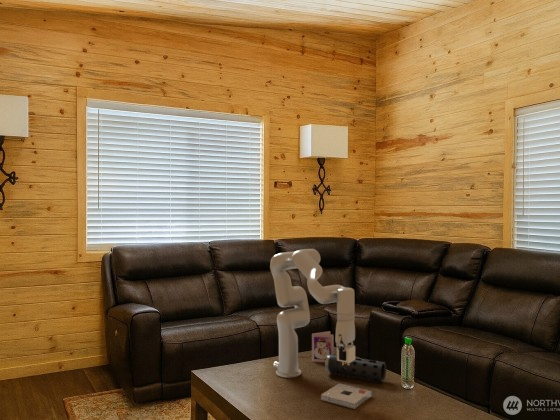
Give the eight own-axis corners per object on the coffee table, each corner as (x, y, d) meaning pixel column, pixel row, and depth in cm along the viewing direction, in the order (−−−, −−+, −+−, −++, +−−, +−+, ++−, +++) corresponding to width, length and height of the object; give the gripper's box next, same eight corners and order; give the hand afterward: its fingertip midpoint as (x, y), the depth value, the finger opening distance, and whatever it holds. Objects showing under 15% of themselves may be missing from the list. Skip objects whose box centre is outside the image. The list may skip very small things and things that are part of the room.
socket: (321, 400, 215) (321, 393, 215) (339, 388, 228) (339, 382, 228) (354, 409, 206) (354, 402, 206) (371, 396, 219) (371, 389, 219)
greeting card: (311, 362, 265) (311, 334, 264) (313, 357, 272) (313, 330, 272) (333, 363, 263) (333, 335, 263) (334, 358, 270) (334, 331, 270)
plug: (332, 364, 217) (332, 345, 217) (339, 360, 222) (338, 342, 222) (349, 367, 213) (349, 348, 212) (355, 364, 217) (355, 345, 217)
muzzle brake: (380, 387, 230) (380, 365, 230) (324, 376, 244) (324, 355, 243) (386, 380, 239) (386, 359, 238) (331, 370, 252) (331, 350, 252)
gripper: (347, 311, 225) (347, 351, 226) (328, 319, 211) (328, 362, 212) (362, 313, 221) (362, 354, 221) (344, 321, 207) (344, 365, 207)
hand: (346, 357), depth 217 cm, fingers closed on plug, 5 cm apart
